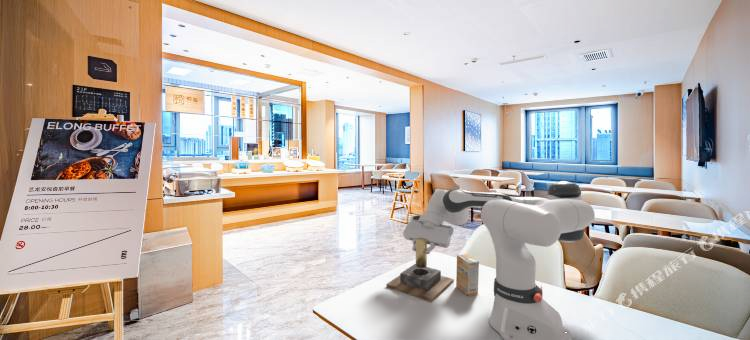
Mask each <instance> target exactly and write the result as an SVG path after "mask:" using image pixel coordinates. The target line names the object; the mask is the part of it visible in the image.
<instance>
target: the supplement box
mask: <svg viewBox="0 0 750 340" xmlns="http://www.w3.org/2000/svg"><path fill="white" fill-rule="evenodd" d="M479 266H480V261H479V260H477V259H475V258H474V257H472V256H470V255H469V254H467V253H465V254H464V253H463V254H456V279H455V280H456V284H455V285H456V287H457V288H458V289H459V290H460V291H462V292H464V294H465V295H466V296H473V295H474V296H475V295H478V294H479V272H480V271H479V270H480V269H479V268H480V267H479Z"/></svg>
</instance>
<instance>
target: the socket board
mask: <svg viewBox="0 0 750 340" xmlns="http://www.w3.org/2000/svg"><path fill="white" fill-rule="evenodd" d="M441 273H442V272H441V270H439V269H436V268H432V267H428V266H427V267H425V268H418V267H416V263H414V264H412V265H411V266H410V267H408V268H406V269H405V270H404V271H402V272H400V274H399V275H398V276H396V277H395V278H394V279H392V280H390V281H389V282H387V283H386V285H385V286H386V288H389V289H392V290H395V291H397V292H400V293H404V294H406V295H410V296H412V297H416V298H417V299H418V298H419V299H422V300H425V301H428V302H431V303H433V302H434V301H435V300H436V299H438V298H439V296H440V295H441V294H442V293H444V292H445V291H446V290H447V289H448V288H449V287H450V286H451V285H452V284H453V283H454V278H451V277H448V276H443V275H442V274H441Z"/></svg>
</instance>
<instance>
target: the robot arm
mask: <svg viewBox="0 0 750 340" xmlns="http://www.w3.org/2000/svg"><path fill="white" fill-rule="evenodd" d="M547 196H548V198H545V197H537V196H511V195H508V194H504V193H501V192H500V193H499V192H486V191H485V192H482V191H469V190H466V189H462V188H452V189H449V190H445V189H437V190H436V191H434V192H433V194H432V195H431V196H430V199H429V201H428V203H427V205H426V206H427V207H426V210H425V211H424V213H421V214H416V215H412V216H411V218H410V220H411V221H409V222H408V223H407V224H406V226H405V228H404V230H403V233H402V234H403V235H402V236H403V237H404V238H405V240H408V241H412V248H411V250H412V251H413V252H416V238H425V239H427V245H429V247H427V248H426V249H425V253H426V254H427V255H430V254H431V252H432V251H433V250H434V249H435V248H436V247H441V248H445V249H447V248H448V247H449V246H450V245H451V239H452V235H454V228H453V227H452V226H451V225H453V226H458V227H459V226H460V227H461V226H463V225H465V224H466V223H468V221H469V219H470V208H479V209H480V208H481V211H480V219H481V222H482V224H483V225H484V226H485V228H486V230H487V231H488V233H489V235H490V238H491V241H492V244H493V248H494V253H495V278H494V279H493V280H494V281H493V296H494V298H493V300H494V301H493V305H492V311H491V312H490V313H491V314H490V316H489V319H488V321H489V325H490V327H492V328H493V329H494V330H495V331H496V332H497V333H498V334H499V335H500V337H501V339H503V340H572V339H573V337H572V334H571V332H570V330H569V328H567V327H566V326H564V324H563V320H562V317H561V314H560V313H559V312H558V310H556V309H555V308H554V307H553V306H551V305H550V304H549V303H548V302H547V301H546V300H545V299H543V286H538V285H537V284H536V270H537V269H536V268H537V267H536V266H537V264H536V259H535V257H534V255H533V253H532V252H531V251H529V249H528V248H527V245H530V246H531V245H532V246H537V247H545V248H546V247H547V248H548V247H551V246H553V245H554V244H555V243H556V242H557V241H560V242H564V243H574V242H578V241H581V240H583V238H584V235H585V228H587V227H590V226H591V225H592V223H594V220H595V217H596V216H595V209H594V208H593V207H592V206H591V204H590V203H588V202H587V201H585V200H583V199H582V198H583V197H582V190H581V188H580V186H579V185H578V184H577V183H575V182H574V183H573V182H570V181H566V180H561V181H558V182H554V183H552V184H550V185H549V186H548V189H547ZM444 222H446V223H448V224H450V225H445V224H444ZM526 244H527V245H526ZM565 332H567V333H565Z"/></svg>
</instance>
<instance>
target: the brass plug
mask: <svg viewBox="0 0 750 340" xmlns="http://www.w3.org/2000/svg"><path fill="white" fill-rule="evenodd" d="M426 248H428V244H427V239H425V238H416V251H415V264H416V267H418V268H425V267H428V265H427V263H428V262H427V260H428V258H427V257H428V256H427V255H428V254H426V253H425V249H426Z"/></svg>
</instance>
